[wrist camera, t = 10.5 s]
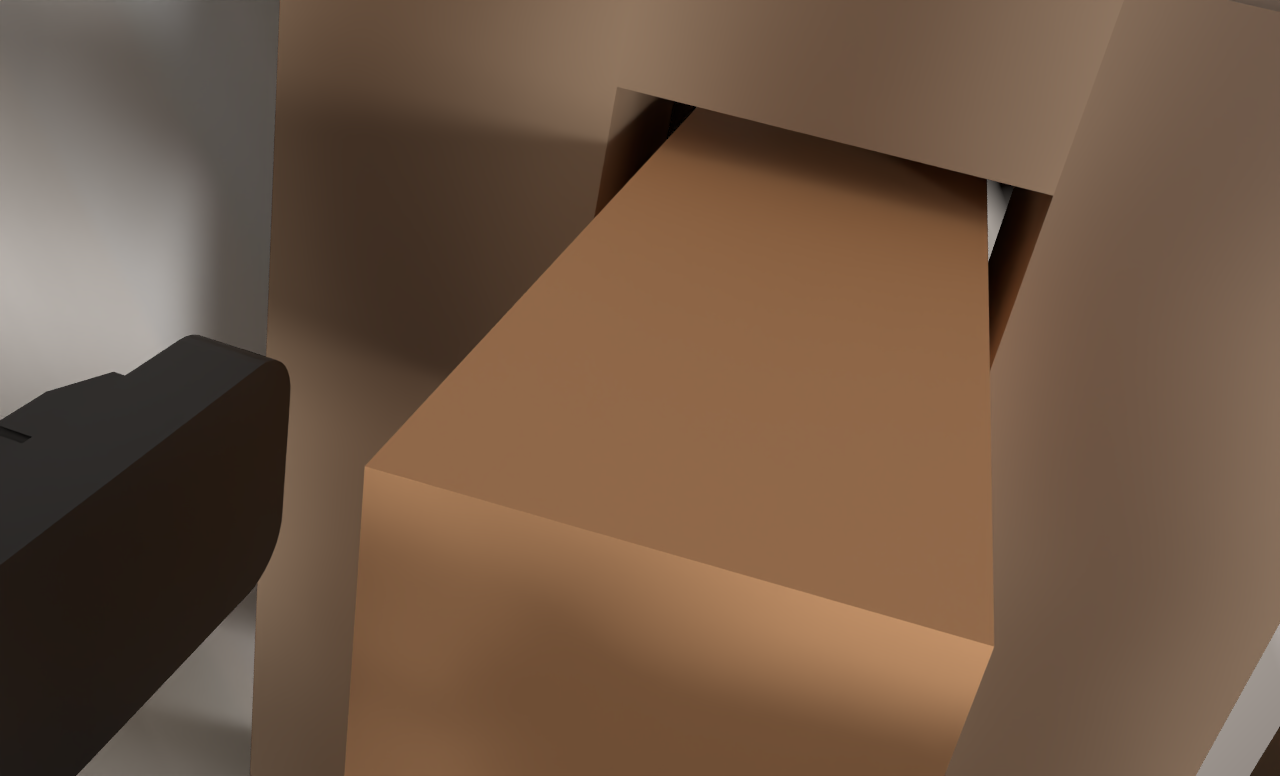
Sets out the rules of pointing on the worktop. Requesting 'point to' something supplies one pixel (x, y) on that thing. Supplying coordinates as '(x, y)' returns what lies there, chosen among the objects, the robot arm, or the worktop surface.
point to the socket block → (875, 120)
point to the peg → (700, 487)
